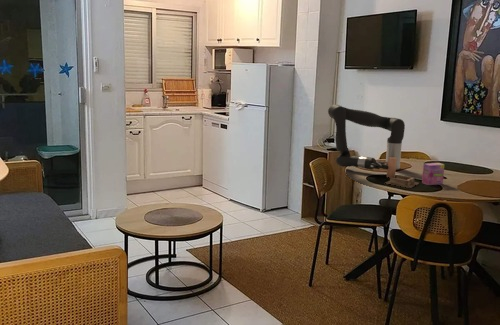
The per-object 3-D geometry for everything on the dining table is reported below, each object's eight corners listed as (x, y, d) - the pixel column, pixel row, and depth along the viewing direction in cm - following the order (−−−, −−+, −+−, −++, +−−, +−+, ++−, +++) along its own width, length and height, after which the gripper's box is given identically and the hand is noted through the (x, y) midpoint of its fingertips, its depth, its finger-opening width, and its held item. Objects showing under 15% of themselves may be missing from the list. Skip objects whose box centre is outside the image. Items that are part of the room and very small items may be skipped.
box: (427, 185, 285) (429, 165, 283) (421, 182, 291) (423, 163, 288) (443, 184, 288) (445, 164, 286) (436, 182, 293) (438, 162, 291)
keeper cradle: (394, 179, 297) (394, 173, 296) (419, 183, 288) (419, 177, 287) (384, 183, 286) (385, 177, 286) (410, 188, 277) (410, 182, 277)
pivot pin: (388, 175, 307) (390, 156, 305) (396, 177, 304) (397, 157, 302) (385, 177, 303) (386, 157, 301) (392, 178, 300) (394, 159, 298)
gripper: (361, 158, 306) (386, 162, 296) (372, 155, 317) (396, 159, 307) (361, 170, 308) (385, 174, 298) (371, 167, 319) (395, 170, 309)
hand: (391, 166), depth 303 cm, fingers open, 8 cm apart
